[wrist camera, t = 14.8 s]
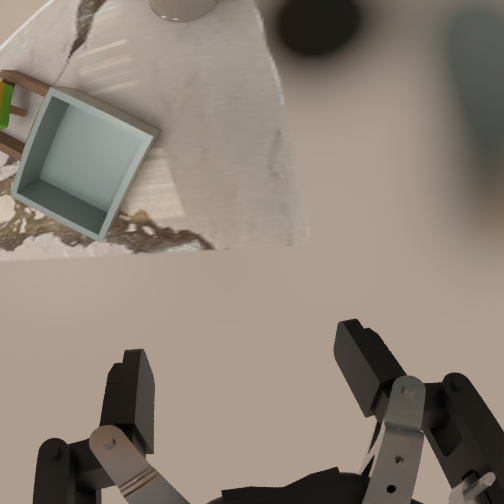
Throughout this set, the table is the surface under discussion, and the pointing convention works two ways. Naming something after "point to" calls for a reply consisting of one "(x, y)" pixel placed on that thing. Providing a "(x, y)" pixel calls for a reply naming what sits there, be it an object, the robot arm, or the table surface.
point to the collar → (16, 147)
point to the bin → (81, 161)
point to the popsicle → (7, 105)
